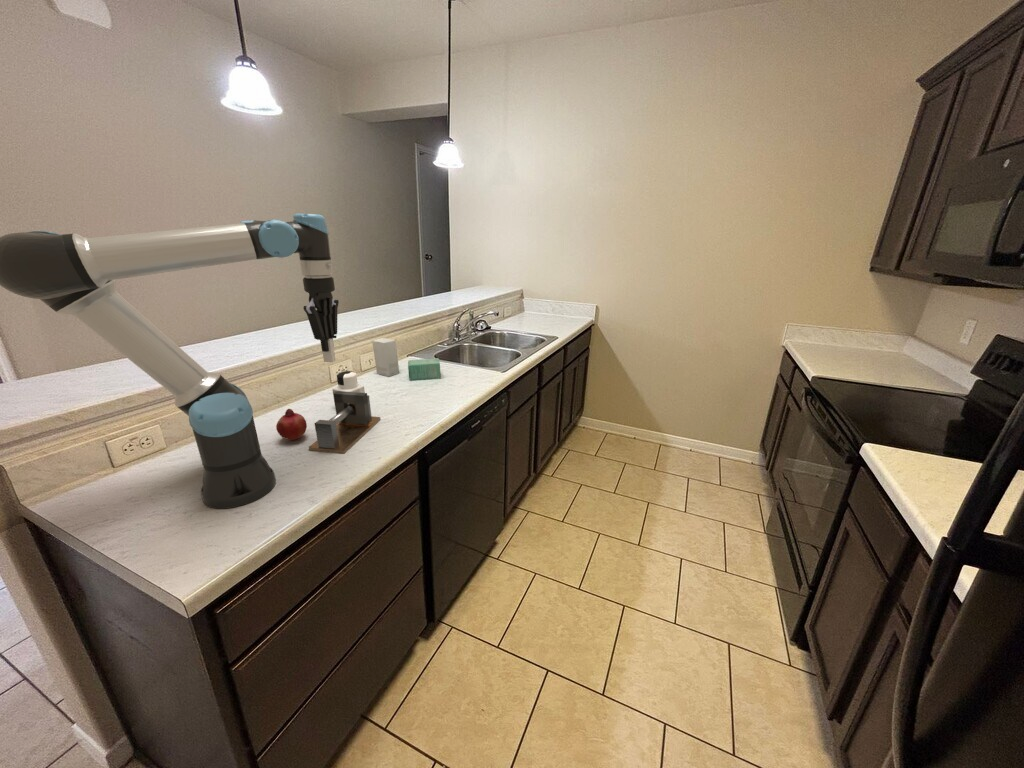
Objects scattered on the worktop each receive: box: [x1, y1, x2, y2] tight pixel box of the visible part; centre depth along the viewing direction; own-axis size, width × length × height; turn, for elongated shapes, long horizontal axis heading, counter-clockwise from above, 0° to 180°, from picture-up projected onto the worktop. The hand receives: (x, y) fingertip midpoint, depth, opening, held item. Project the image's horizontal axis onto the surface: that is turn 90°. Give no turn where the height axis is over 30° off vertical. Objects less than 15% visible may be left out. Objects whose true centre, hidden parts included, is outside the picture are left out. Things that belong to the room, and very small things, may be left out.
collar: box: [332, 391, 370, 425], centre depth 131 cm, size 2×10×10 cm, turn 81°
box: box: [407, 357, 442, 382], centre depth 179 cm, size 7×14×8 cm, turn 105°
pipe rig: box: [308, 394, 381, 455], centre depth 127 cm, size 23×11×9 cm, turn 171°
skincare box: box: [371, 337, 400, 378], centre depth 181 cm, size 8×7×16 cm
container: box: [332, 370, 366, 404], centre depth 147 cm, size 8×8×13 cm
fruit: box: [275, 408, 308, 441], centre depth 124 cm, size 8×8×10 cm
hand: (329, 361), depth 117 cm, fingers closed
